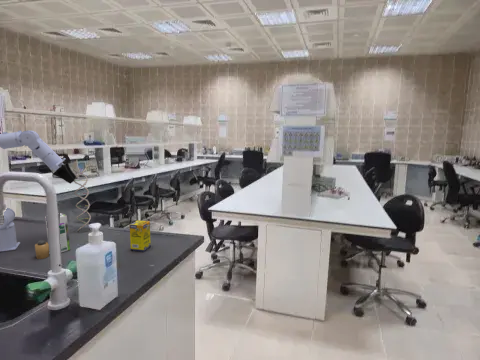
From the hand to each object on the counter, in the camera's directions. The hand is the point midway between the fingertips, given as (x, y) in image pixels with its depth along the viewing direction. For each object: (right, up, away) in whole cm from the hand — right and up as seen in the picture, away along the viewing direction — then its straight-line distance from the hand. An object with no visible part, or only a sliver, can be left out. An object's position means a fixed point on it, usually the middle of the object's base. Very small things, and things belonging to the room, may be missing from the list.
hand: (73, 180), depth 131 cm
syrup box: (-2, -28, -7) cm, 29 cm away
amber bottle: (-5, -29, -12) cm, 32 cm away
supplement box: (+29, -28, -4) cm, 41 cm away
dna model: (-3, -24, +16) cm, 29 cm away
